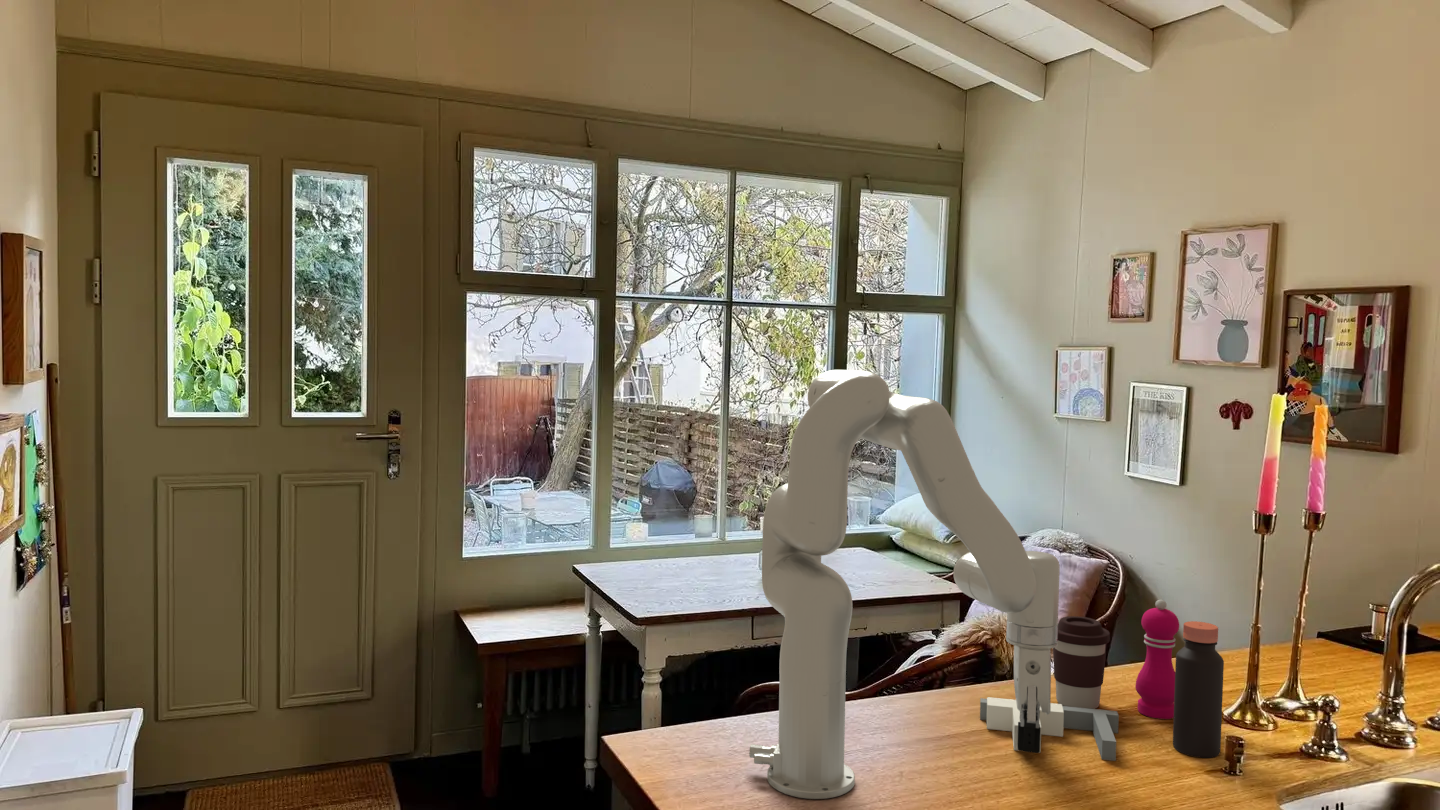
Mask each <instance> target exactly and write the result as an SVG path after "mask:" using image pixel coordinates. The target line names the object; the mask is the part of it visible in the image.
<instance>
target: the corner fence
mask: <svg viewBox="0 0 1440 810" xmlns="http://www.w3.org/2000/svg"><path fill="white" fill-rule="evenodd" d="M979 699H980V701H979V703H980V705H979V720H982V721H987V698H981V697H980V698H979ZM1062 707H1063V711H1064V723H1063V729H1071V730H1082V731H1091V732H1092V734H1093V737H1094V740H1095V743H1096V746H1097V749H1098V752H1099V756H1100V758H1101V760H1103V761H1104V760H1105V761H1114V762H1115V761H1117V739H1116V738H1115V735H1114V734H1119V722H1120V721H1119V719H1120V718H1119V717H1120V716H1119V713H1118V711H1117V710H1106V709H1097V708H1095V709H1088V708H1078V707H1067V706H1063V705H1062Z"/></svg>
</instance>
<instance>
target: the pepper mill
mask: <svg viewBox="0 0 1440 810" xmlns="http://www.w3.org/2000/svg"><path fill="white" fill-rule="evenodd" d="M1154 605H1155V607H1153V608H1149V609H1147V610H1146V611H1144V613H1143V615H1142V617H1141V620H1140V621H1141V623H1140V624H1141V626H1142V629H1143V630H1144V631H1145V634H1144V635H1143V637H1144V640H1143V643H1144V644H1145V645H1146V646H1145V647H1146V655H1145V659H1144V663H1143V665H1142V667H1141V669H1140V670H1139V672H1138V674H1137V678H1136V679H1135V680H1136V681H1135V691H1136V693H1137V694H1138V695H1139V696H1140V698H1139V699H1137V711H1138V712H1139V714H1141V715H1143V716H1146V717H1149V718H1153V719H1157V718H1158V719H1157V720H1171V718H1172V719H1174V693H1175V668H1174V666H1173V659H1172V658H1173V657H1172V655H1173V648H1175V647H1176V638H1175V635H1177V634H1178V632H1179V630H1180V621H1179V618H1178V616H1177V615H1176V614H1175V612H1173V611H1171V610H1169V609H1167V603H1166V601H1165V600H1163V599H1158V600H1156V601H1155V604H1154Z"/></svg>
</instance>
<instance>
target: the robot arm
mask: <svg viewBox="0 0 1440 810" xmlns="http://www.w3.org/2000/svg"><path fill="white" fill-rule="evenodd" d="M807 404H808V407H809V408H808V409H807V411H806V412H805V414H804V415H803V416H802V418H801V419H800V421H799V422H798V424H797V427H796V429H795V431H794V433H793V437H792V441H791V445H790V451H789V463H788V464H789V465H788V473H787V475H788V476H787V483H784V484H782V485H780V486H779V487H778V488H776V489H775V490H774V491H773V493H772V494H771V495H770V497H769V498H768V499H767V503H766V506H765V508H764V513H763V518H762V519H763V520H762V542H761V543H762V545H761V547H762V548H761V550H762V551H761V584H762V585H761V586H762V589H763V590H762V591H763V594H764V596H765V598H766V600H767V602H768V604H770V605H771V607H772V608H774V610H776V611H777V612H778V613H779V614H781V615H782V616H783V617H784V630H783V633H782V638H781V643H780V648H779V649H780V650H779V668H778V669H779V673H778V674H779V682H778V683H779V687H778V688H779V691H778V693H779V694H778V695H779V696H778V742H777V744H771V746H766V745H763V744H754V743H751V744H750V745H749V751H748V755H749V758H750V759H751V758H752V759H753V764H756V765H769V767H768V769H767V772H766V773H767V774H766V775H767V776H766V777H767V781H768V784H769V785H770V786H771V787H773V788H774V789H775V790H776V791H777V792H780V793H782V794H785V795H788V796H791V797H796V798H799V799H805V800H806V799H808V800H811V799H812V800H820V799H821V800H823V799H824V800H826V799H831V798H837V797H840V796H842V795H844V794H847V793H848V792H849V791H851V790H852V789H853V788H854V786H855V784H856V783H855V781H856V779H855V778H856V776H855V773H854V771H853V769H851V767H850V766H848V765H847V764H845V737H846V735H845V734H846V732H845V731H846V729H845V728H846V722H845V721H846V683H847V681H846V679H847V678H846V677H847V675H846V673H847V672H846V671H847V650H848V649H847V648H848V641H849V640H848V638H849V632H850V627H851V621H852V617H853V597H852V593H851V591H850V588H849V586H848V583H846V580H845V579H844V578H843V577H842V576H841V575H840V574H839V573H838V572H837V571H836V570H834V569H833V568H831V567H829V566H828V565H826V564H824V563H822V556H829V555H830V554H832V553H834V552H835V551H837V550H838V549H839V548H840V546H841V545H842V544H843V542H844V540H845V537H846V532H847V525H848V524H847V523H848V490H849V489H848V488H849V487H848V485H849V482H848V481H849V470H850V469H849V468H850V467H849V466H850V461H851V456H852V453H853V449H854V447H855V445H856V444H857V442H858V441H859V439H861V440H862V439H863V440H865V441H868V442H870V443H873V444H876V445H878V446H879V445H880V446H882V447H885V448H889V449H891V450H896V451H901V454H902V455H903V458H904V460H905V462H906V464H907V466H908V469H909V471H910V473H911V475H912V477H913V481H914V482H915V484H916V486H917V488H918V491H919V494H920V496H921V498H922V500H923V502H924V504H925V507H926V508H927V510H928V511H929V512H930V513H931V514H932V515H933V516H934V518H935V519H936V520H938V521H939V522H940V523H941V524H942V525H943V526H944V527H945V528H946V529H948V530H949V531H950V532H951V533H953V534H954V535H955V536H956V537H957V538H958V539H959V540H960V541H961V543H963V544H964V546H965V548H966V549H967V550H968V552H966V553H965V554H963V555H962V556H961V557H960V558H958V559H957V561H956V563H955V565H954V566H953V579H954V582H955V584H956V586H957V588H958V590H959V591H961V592H962V593H963V594H964V595H966V596H968V597H969V598H972V599H973V600H976V601H978V602H980V603H983V604H985V605H987V606H989V607H992V608H993V609H995V610H996V611H997V610H998V611H999V612H1002V613H1006V632H1005V633H1006V637H1005V640H1006V642H1007V643H1008V644H1010V645H1013V685H1014V695H1015V696H1014V697H1015V700H1016V704H1017V709H1018V710H1019V711H1020V722H1018V750H1019V752H1025V753H1033V754H1040V753H1039V752H1040V724H1039V719H1040V707H1041V709H1042V712H1045V713H1046V714H1049V713H1050V712H1051V703H1052V700H1051V691H1052V689H1051V688H1052V687H1051V683H1052V677H1051V676H1052V655H1051V652H1052V651H1051V649H1053V648H1054V647H1056V646H1057V641H1058V623H1059V601H1060V600H1059V599H1060V596H1059V595H1060V571H1061V569H1060V566H1061V565H1060V562H1059V559H1058V558H1057V557H1056V556H1055V555H1053V554H1052V553H1049V552H1044V551H1037V550H1025V547H1024V545H1023V542H1022V541H1021V539H1020V537H1019V535H1018V534H1017V532H1016V530H1015V529H1014V527H1013V526H1012V524H1011V523H1010V522H1009V521H1008V519H1007V518H1006V517H1005V515H1004V514H1003V513H1002V512H1001V510H1000V509H999V507H998V506H997V505H996V503H995V502H994V501H993V500H992V498H991V497H990V496H989V495H988V493H987V492H986V491H985V490H984V488H983V487H982V485H981V484H980V482H979V479H978V477H977V475H976V473H975V470H974V468H973V466H972V464H971V462H970V459H969V457H968V455H967V452H966V450H965V448H964V446H963V443H962V441H961V438H960V435H959V434H958V431H957V429H956V427H955V423H954V422H953V420H952V418H951V415H950V414H949V412H948V410H947V409H946V408H945V407H944V405H943V404H941V402H938V401H937V400H935V399H932V398H928V397H922V396H921V397H920V396H911V395H903V394H899V393H896V392H893V391H890V389H889V385H888V384H887V382H886V381H885V380H884V379H883V377H881V376H880V375H878V374H876V373H874V372H871V371H867V370H862V369H830V370H827V371H824V372H821V373H820V374H819V375H817V376H816V377H815V378H814V379H813V380H812V382H811V383H810V386H809V388H808V391H807ZM1018 750H1017V751H1018Z"/></svg>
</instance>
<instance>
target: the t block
mask: <svg viewBox="0 0 1440 810" xmlns="http://www.w3.org/2000/svg"><path fill="white" fill-rule="evenodd" d="M986 699H987V720H986V729H987V730H997V731H1007V732H1011V735H1012V744H1013V751H1019V750H1018V722H1020V711H1019V710H1018V709H1017V704H1016V699H1010V698H999V697H991V696H990V697H986ZM1062 706H1063V705H1062V704H1060V703H1053V702H1051V712H1050V713H1049V714H1046V713H1045V712H1042V709H1041V707H1040V719H1039V724H1040V752H1039V753H1038V754H1040V753H1041V750H1042V749H1041V748H1042V746H1041V745H1042V744H1041V743H1042V742H1041V741H1042V736H1053V737H1054V736H1055V737H1062V738H1063V737H1064V728H1063V723H1064V711H1063V707H1062ZM1019 752H1020V751H1019Z"/></svg>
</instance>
